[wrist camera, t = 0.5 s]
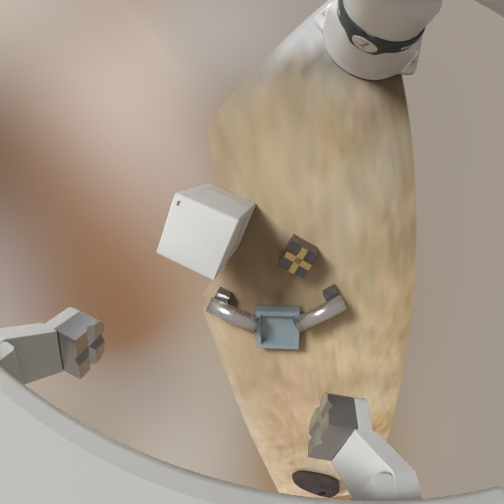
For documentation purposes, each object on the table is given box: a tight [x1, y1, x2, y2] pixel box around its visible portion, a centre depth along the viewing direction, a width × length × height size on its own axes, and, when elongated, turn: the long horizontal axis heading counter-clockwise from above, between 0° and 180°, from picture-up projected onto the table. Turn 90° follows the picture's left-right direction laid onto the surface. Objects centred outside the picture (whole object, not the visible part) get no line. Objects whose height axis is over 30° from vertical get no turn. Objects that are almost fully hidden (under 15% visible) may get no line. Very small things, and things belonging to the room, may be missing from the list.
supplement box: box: [157, 184, 256, 280], centre depth 45 cm, size 9×9×15 cm
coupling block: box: [278, 234, 318, 278], centre depth 49 cm, size 4×4×5 cm
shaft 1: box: [206, 287, 260, 333], centre depth 54 cm, size 9×4×5 cm, turn 67°
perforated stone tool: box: [292, 471, 339, 497], centre depth 66 cm, size 15×5×7 cm, turn 63°
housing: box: [255, 305, 300, 349], centre depth 55 cm, size 8×8×2 cm
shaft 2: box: [293, 284, 347, 332], centre depth 51 cm, size 9×4×5 cm, turn 122°
